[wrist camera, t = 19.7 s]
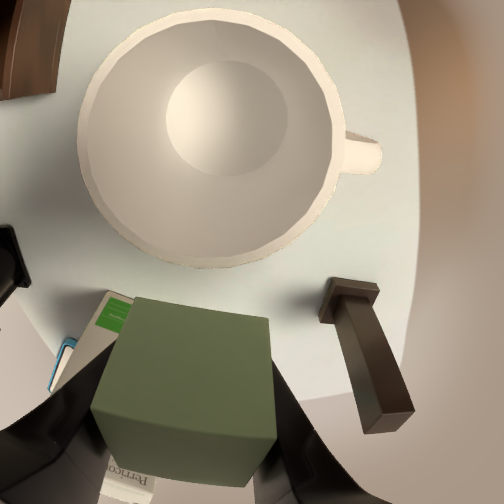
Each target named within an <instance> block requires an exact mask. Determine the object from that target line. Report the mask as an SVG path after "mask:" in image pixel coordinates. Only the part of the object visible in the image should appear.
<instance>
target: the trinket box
mask: <svg viewBox="0 0 504 504" xmlns="http://www.w3.org/2000/svg"><path fill="white" fill-rule="evenodd" d="M70 3H71V0H0V101H2V100H10V99H15V98H21V97H26V96H32V95H39V94H46V93H53V92H56V83H57V74H58V66H59V59H60V52H61V46H62V40H63V35H64V30H65V25H66V20H67V15H68V11H69V7H70Z"/></svg>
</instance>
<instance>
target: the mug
mask: <svg viewBox="0 0 504 504" xmlns="http://www.w3.org/2000/svg"><path fill="white" fill-rule="evenodd" d="M345 130H346V123H345V119H344V115H343V111H342V107H341V103H340V100H339V96H338V92H337V89H336V86H335V85H334V83H333V81H332V80H331V78H330V76H329V75H328V73H327V71H326V70H325V68H324V67H323V65H322V63H321V62H320V60H319V59H318V57H317V56H316V55H315V54H314V53H313V52H312V51H311V50H310V49H309V48H308V47H307V46H306V45H305V44H303V43H302V42H301V41H300V40H299V39H298V38H297V37H295V36H294V35H293V34H292V33H291V32H290V31H288V30H287V29H285V28H283V27H281V26H279V25H277V24H275V23H273V22H270V21H268V20H266V19H264V18H262V17H260V16H257V15H255V14H253V13H248V12H242V11H236V10H229V9H222V8H214V7H213V8H204V9H196V10H189V11H182V12H176V13H173V14H170V15H168V16H165V17H163V18H161V19H158V20H156V21H154V22H151V23H149V24H147V25H145V26H143V27H141V28H139V29H138V30H136V31H135V32H134V33H133V34H131V35H130V36H129V37H128V38H126V39H125V40H124V41H123V42H121V43H120V44H119V45H118V46H117V47H116V48H114V49H113V50H112V51H111V52H110V53H109V55H108V56H107V58H106V59H105V60H104V62H103V63H102V65H101V66H100V67H99V69H98V70H97V72H96V73H95V75H94V76H93V78H92V79H91V81H90V83H89V86H88V89H87V91H86V94H85V97H84V100H83V102H82V105H81V108H80V111H79V118H78V129H77V143H76V147H77V153H78V158H79V164H80V169H81V175H82V178H83V181H84V183H85V185H86V187H87V189H88V192H89V194H90V196H91V198H92V200H93V202H94V204H95V206H96V208H97V209H98V210H99V211H100V213H101V214H102V215H103V216H104V218H105V219H106V220H107V221H108V223H109V224H110V225H111V226H112V228H113V229H114V230H115V231H116V232H118V233H119V234H120V235H121V236H123V237H124V238H125V239H127V240H128V241H129V242H130V243H132V244H133V245H134V246H136V247H137V248H138V249H140V250H142V251H144V252H146V253H148V254H151V255H153V256H155V257H157V258H160V259H162V260H164V261H166V262H169V263H174V264H179V265H184V266H189V267H194V268H229V267H235V266H238V265H242V264H246V263H249V262H253V261H257V260H261V259H263V258H265V257H267V256H269V255H271V254H272V253H274V252H276V251H278V250H280V249H282V248H283V247H285V246H287V245H289V244H291V243H292V242H293V241H294V240H295V239H296V238H297V237H299V236H300V235H301V234H302V233H303V232H304V231H305V230H306V229H307V228H308V227H309V226H311V225H312V224H313V223H314V222H315V221H316V219H317V218H318V216H319V215H320V213H321V212H322V210H323V209H324V207H325V206H326V204H327V202H328V201H329V199H330V198H331V196H332V195H333V193H334V191H335V188H336V185H337V182H338V178H339V175H340V172H342V173H351V174H372V173H373V172H375V171H376V170H377V169H378V167H379V165H380V163H381V160H382V148H381V146H380V144H379V143H378V142H377V141H374V140H372V139H369V138H366V137H363V136H360V135H357V134H354V133H351V132H348V131H345Z"/></svg>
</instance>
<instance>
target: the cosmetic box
mask: <svg viewBox="0 0 504 504" xmlns="http://www.w3.org/2000/svg"><path fill="white" fill-rule="evenodd" d="M133 301H134V300H132V299H129V298H127V297H124V296H121V295H119V294H116V293H114V292H112V291H108V292H107V293H106V294H105V296H104V298H103V300H102V301H101V303H100V305H99V306H98V308H97V310H96V311H95V313H94V315H93V316H92V318H91V320H90V321H89V323H88V325H87V327H86V328H85V330H84V332H83V334H82V336H81V337H80V339H79V341H78V343H77V345H76V346H75V348H74V350H73V352H72V354H71V356H70V358H69V359H68V361H67V363H66V365H65V367H64V369H63V371H62V373H61V375H60V377H59V379H58V381H57V383H56V385H55V387H54V389H53V391H52V393H51V395H53V394H54V393H55V392H56V391H57V390H58V389H59V388H61V387H62V386H63V385H64V384H65V383H66V382H67V381H69V380H70V379H71V378H72V377H73V376H74V375H75V374H77V373H78V372H79V371H80V370H81V369H82V368H83V367H85V366H86V365H87V364H88V363H89V362H90V361H91V360H93V359H94V358H95V357H96V356H97V355H98V354H99V353H101V352H102V351H103V350H104V349H105V348H106V347H108V346H109V345H110V344H111V343H112V342H113V341H115V340H116V339H117V338H118V335H119V333H120V331H121V328H122V326H123V324H124V321H125V319H126V317H127V315H128V312H129V310H130V308H131V306H132V304H133ZM51 395H50V396H51ZM156 481H157V477H156V476H151V475H146V474H142V473H137V472H133V471H129V470H125V469H121V468H119V467H118V466H117V464H116V462H115V460H114V458H113V457H112V455H111V456H110V459H109V463H108V466H107V470H106V473H105V477H104V480H103V484H102V488H101V491H100V493H101V494H104V495H107V496H110V497H112V498H115V499H118V500H121V501H124V502H127V503H130V504H149V503H150V501H151V499H152V496H153V494H154V490H155V485H156Z"/></svg>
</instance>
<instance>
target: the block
mask: <svg viewBox="0 0 504 504" xmlns="http://www.w3.org/2000/svg"><path fill="white" fill-rule="evenodd" d="M90 409H91V411H92V414H93V416H94V418H95V421H96V423H97V425H98V428H99V430H100V432H101V434H102V436H103V438H104V440H105V442H106V445H107V447H108V449H109V451H110V453H111V455H112V457H113V458H114V460H115V462H116V464H117V466H118V467H119V468H121V469H125V470H129V471H133V472H137V473H142V474H146V475H151V476H156V477H161V478H166V479H172V480H178V481H185V482H192V483H199V484H208V485H218V486H229V487H245V486H246V484H247V483H248V482H249V480H250V479H251V477H252V476H253V474H254V473H255V472H256V470H257V469H258V467H259V466H260V464H261V463H262V461H263V460H264V458H265V457H266V455H267V453H268V452H269V450H270V449H271V447H272V446H273V444H274V442H275V441H276V439H277V430H276V415H275V401H274V387H273V373H272V359H271V346H270V333H269V320H268V318H264V317H257V316H249V315H242V314H235V313H229V312H222V311H215V310H209V309H203V308H197V307H190V306H185V305H179V304H173V303H167V302H162V301H156V300H151V299H146V298H141V297H135V299H134V301H133V304H132V306H131V308H130V310H129V312H128V315H127V317H126V319H125V321H124V324H123V326H122V328H121V331H120V333H119V335H118V338H117V340H116V342H115V345H114V347H113V350H112V352H111V354H110V357H109V359H108V362H107V364H106V367H105V369H104V372H103V375H102V377H101V380H100V382H99V385H98V388H97V390H96V393H95V396H94V398H93V401H92V404H91V407H90Z"/></svg>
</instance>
